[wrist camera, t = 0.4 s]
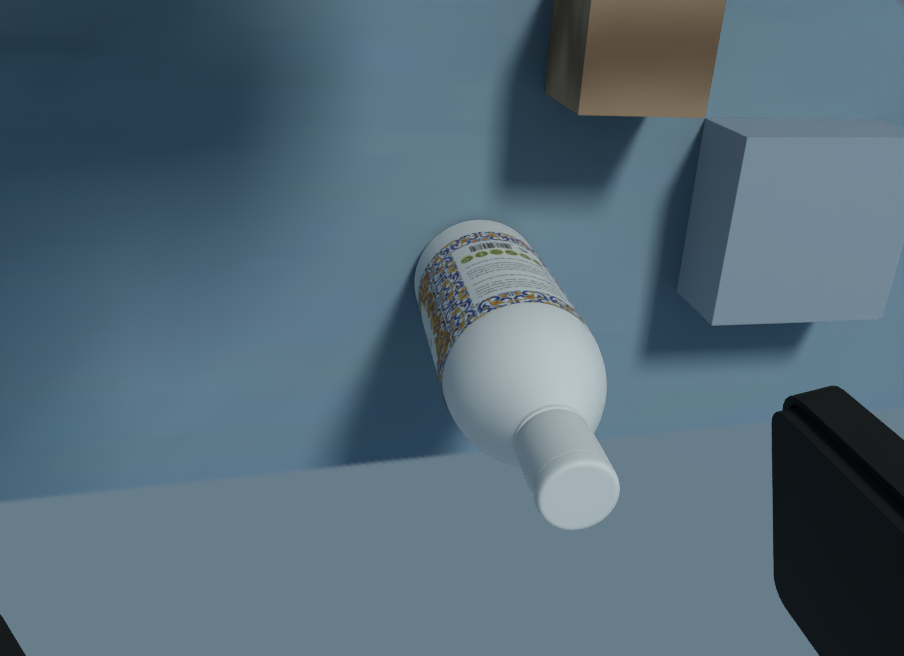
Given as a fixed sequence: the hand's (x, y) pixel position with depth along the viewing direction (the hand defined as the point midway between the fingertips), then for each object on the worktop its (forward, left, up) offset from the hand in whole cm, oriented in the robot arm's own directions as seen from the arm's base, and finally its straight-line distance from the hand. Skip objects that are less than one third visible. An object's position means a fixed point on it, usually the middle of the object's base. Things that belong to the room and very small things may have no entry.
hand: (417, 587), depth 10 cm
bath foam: (+9, +7, -34) cm, 36 cm away
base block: (+5, +24, -34) cm, 42 cm away
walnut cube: (-4, +13, -34) cm, 36 cm away
